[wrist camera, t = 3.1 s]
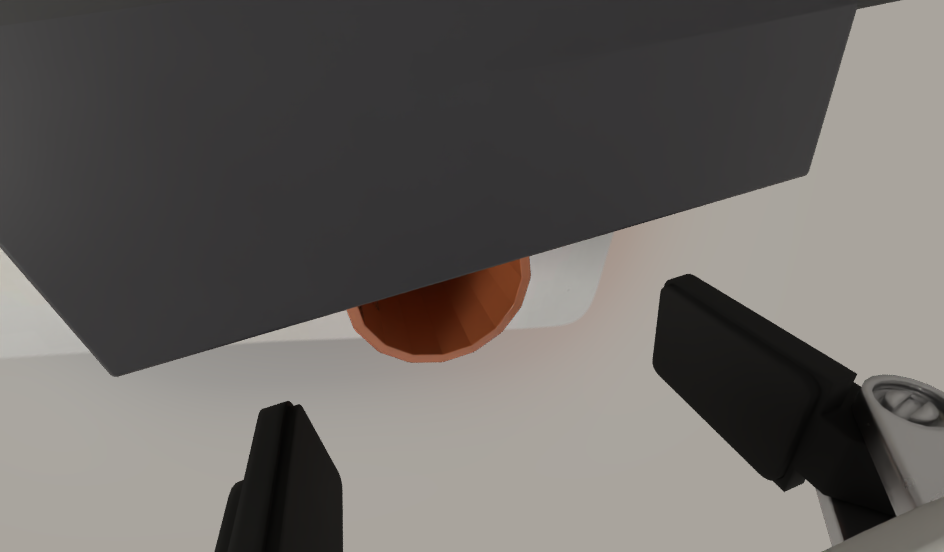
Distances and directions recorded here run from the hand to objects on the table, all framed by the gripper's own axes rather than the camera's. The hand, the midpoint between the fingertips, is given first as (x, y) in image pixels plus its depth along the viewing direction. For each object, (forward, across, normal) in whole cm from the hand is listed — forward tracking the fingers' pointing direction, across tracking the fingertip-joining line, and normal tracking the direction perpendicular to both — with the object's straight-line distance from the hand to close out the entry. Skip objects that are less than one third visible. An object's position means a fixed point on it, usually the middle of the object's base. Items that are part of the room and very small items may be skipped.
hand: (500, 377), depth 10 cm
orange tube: (+17, 0, 0) cm, 17 cm away
